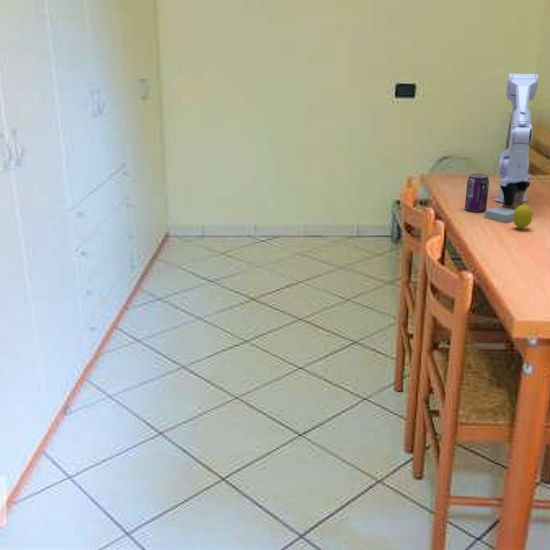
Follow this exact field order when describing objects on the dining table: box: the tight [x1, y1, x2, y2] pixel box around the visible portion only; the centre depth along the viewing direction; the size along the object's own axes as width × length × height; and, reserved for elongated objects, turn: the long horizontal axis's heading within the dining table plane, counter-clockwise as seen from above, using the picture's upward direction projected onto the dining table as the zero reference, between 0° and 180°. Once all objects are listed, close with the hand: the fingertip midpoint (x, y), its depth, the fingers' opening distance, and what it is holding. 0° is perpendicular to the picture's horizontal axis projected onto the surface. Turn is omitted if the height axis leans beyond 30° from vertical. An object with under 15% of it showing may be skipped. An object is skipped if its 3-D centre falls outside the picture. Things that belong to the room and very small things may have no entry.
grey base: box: [484, 206, 515, 224], centre depth 221 cm, size 8×8×2 cm
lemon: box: [512, 203, 533, 230], centre depth 209 cm, size 6×6×8 cm
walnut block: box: [502, 190, 524, 210], centre depth 226 cm, size 4×4×6 cm
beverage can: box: [464, 173, 490, 213], centre depth 230 cm, size 7×7×12 cm
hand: (512, 204), depth 227 cm, fingers closed on walnut block, 4 cm apart
